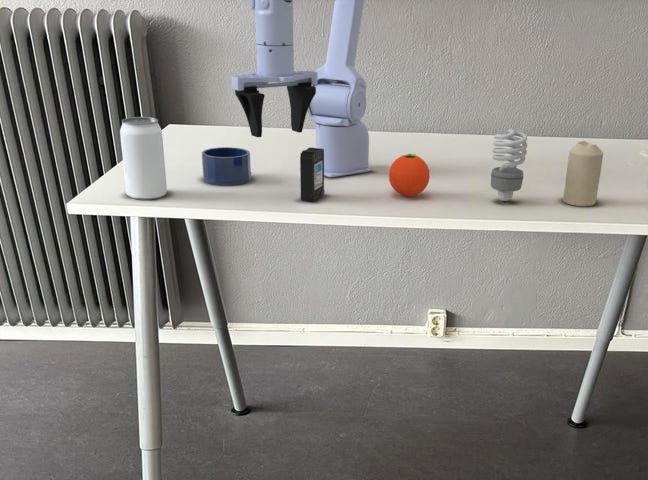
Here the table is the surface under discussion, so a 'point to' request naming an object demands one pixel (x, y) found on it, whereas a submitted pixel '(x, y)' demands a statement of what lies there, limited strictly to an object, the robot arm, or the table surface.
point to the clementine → (409, 175)
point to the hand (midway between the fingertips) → (277, 133)
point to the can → (143, 158)
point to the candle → (583, 174)
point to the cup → (226, 166)
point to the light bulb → (508, 164)
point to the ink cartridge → (312, 174)
